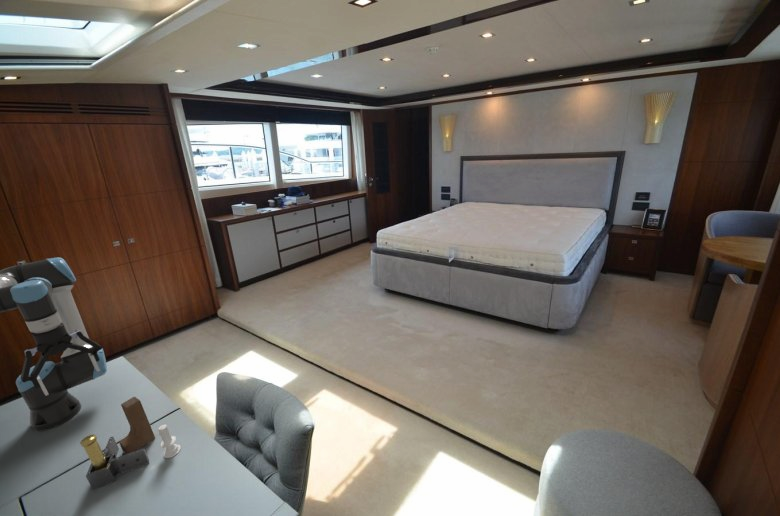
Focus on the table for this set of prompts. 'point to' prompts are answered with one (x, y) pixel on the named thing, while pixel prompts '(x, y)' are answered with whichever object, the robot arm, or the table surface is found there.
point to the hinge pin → (94, 452)
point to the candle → (168, 442)
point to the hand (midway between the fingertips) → (73, 381)
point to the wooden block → (136, 426)
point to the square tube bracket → (115, 465)
